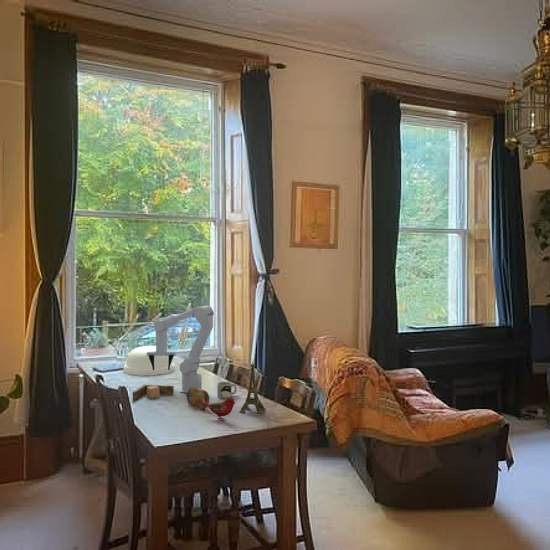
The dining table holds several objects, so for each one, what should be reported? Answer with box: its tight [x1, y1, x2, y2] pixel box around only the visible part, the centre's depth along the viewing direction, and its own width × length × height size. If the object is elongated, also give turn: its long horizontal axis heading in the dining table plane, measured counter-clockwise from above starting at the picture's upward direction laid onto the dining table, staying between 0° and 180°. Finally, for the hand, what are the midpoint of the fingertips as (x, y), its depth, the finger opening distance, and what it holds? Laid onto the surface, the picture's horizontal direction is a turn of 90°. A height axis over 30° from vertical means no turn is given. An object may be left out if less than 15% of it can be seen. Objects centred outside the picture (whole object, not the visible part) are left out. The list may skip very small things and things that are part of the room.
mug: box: [216, 381, 238, 400], centre depth 270 cm, size 10×7×7 cm
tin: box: [186, 388, 210, 410], centre depth 250 cm, size 15×3×8 cm, turn 40°
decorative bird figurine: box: [201, 397, 237, 421], centre depth 232 cm, size 3×18×10 cm, turn 61°
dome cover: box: [123, 345, 176, 376], centre depth 330 cm, size 32×30×14 cm
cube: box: [146, 386, 160, 399], centre depth 267 cm, size 4×4×4 cm
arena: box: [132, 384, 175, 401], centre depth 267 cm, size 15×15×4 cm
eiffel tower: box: [238, 360, 266, 416], centre depth 245 cm, size 11×11×25 cm
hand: (161, 369), depth 285 cm, fingers open, 7 cm apart
